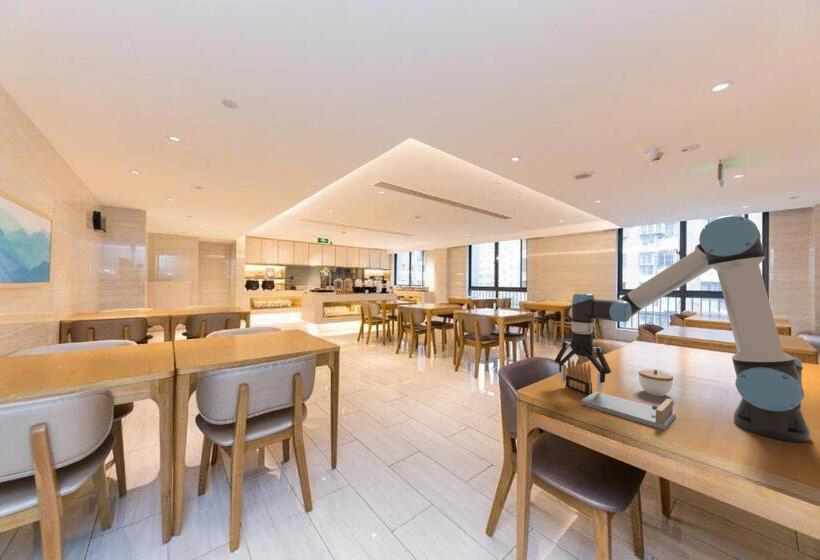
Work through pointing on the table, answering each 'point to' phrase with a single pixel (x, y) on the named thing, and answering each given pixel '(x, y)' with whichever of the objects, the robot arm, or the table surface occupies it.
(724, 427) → the table surface
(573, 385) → the ammunition clip
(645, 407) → the wall board
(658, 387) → the lidded jar
